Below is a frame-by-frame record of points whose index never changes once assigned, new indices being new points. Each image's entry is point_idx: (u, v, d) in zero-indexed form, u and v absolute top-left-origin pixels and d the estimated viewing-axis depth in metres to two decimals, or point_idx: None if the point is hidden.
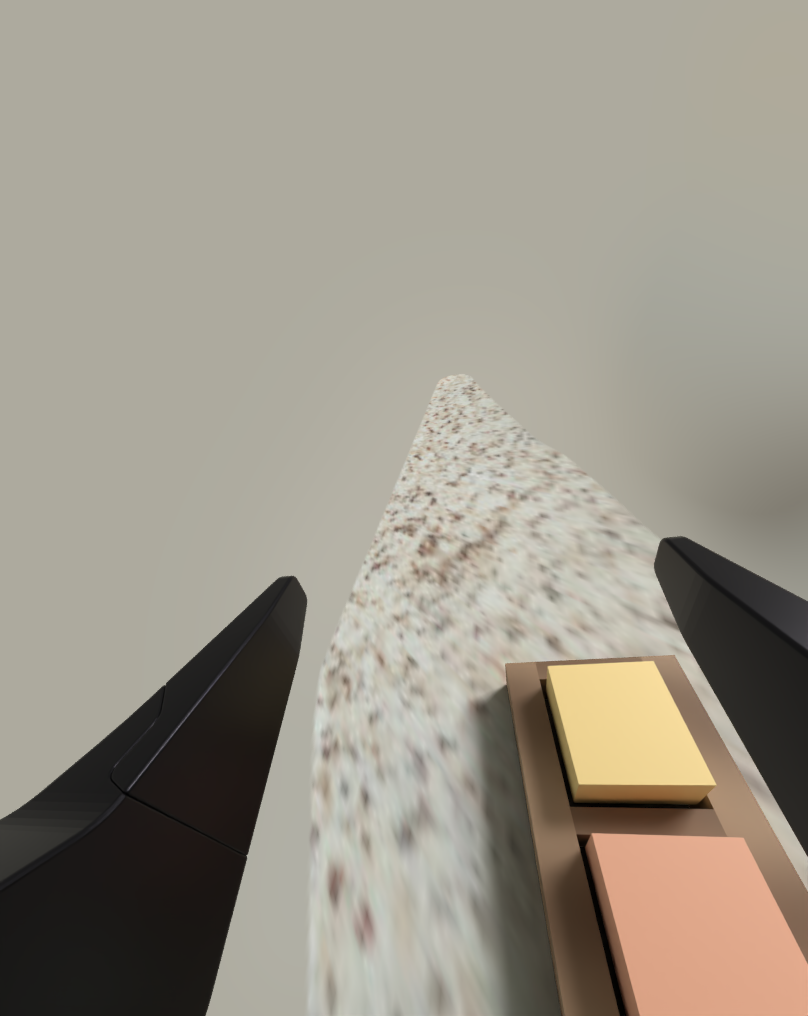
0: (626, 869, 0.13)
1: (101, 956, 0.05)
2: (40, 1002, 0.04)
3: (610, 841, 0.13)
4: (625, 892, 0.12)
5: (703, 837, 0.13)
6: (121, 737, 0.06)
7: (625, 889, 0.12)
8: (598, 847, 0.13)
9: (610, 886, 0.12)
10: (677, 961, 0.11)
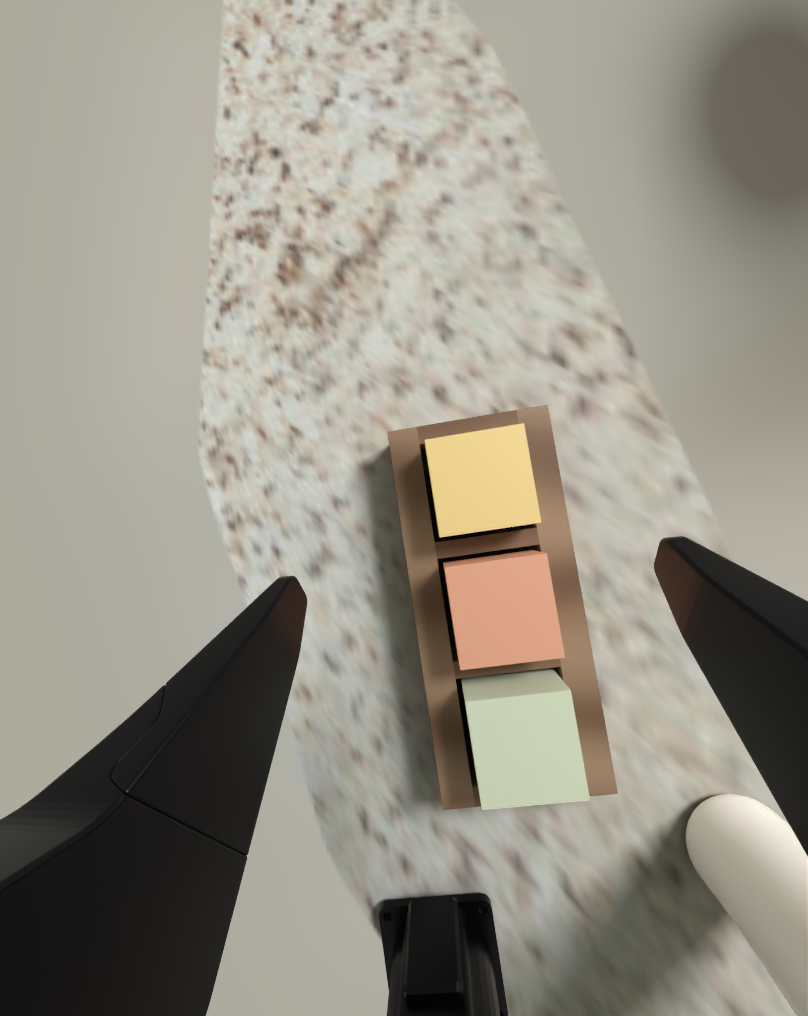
0: (464, 584, 0.18)
1: (101, 956, 0.05)
2: (40, 1002, 0.04)
3: (456, 570, 0.18)
4: (460, 596, 0.18)
5: (520, 556, 0.18)
6: (121, 737, 0.06)
7: (461, 594, 0.18)
8: (447, 575, 0.18)
9: (451, 594, 0.18)
10: (484, 622, 0.17)
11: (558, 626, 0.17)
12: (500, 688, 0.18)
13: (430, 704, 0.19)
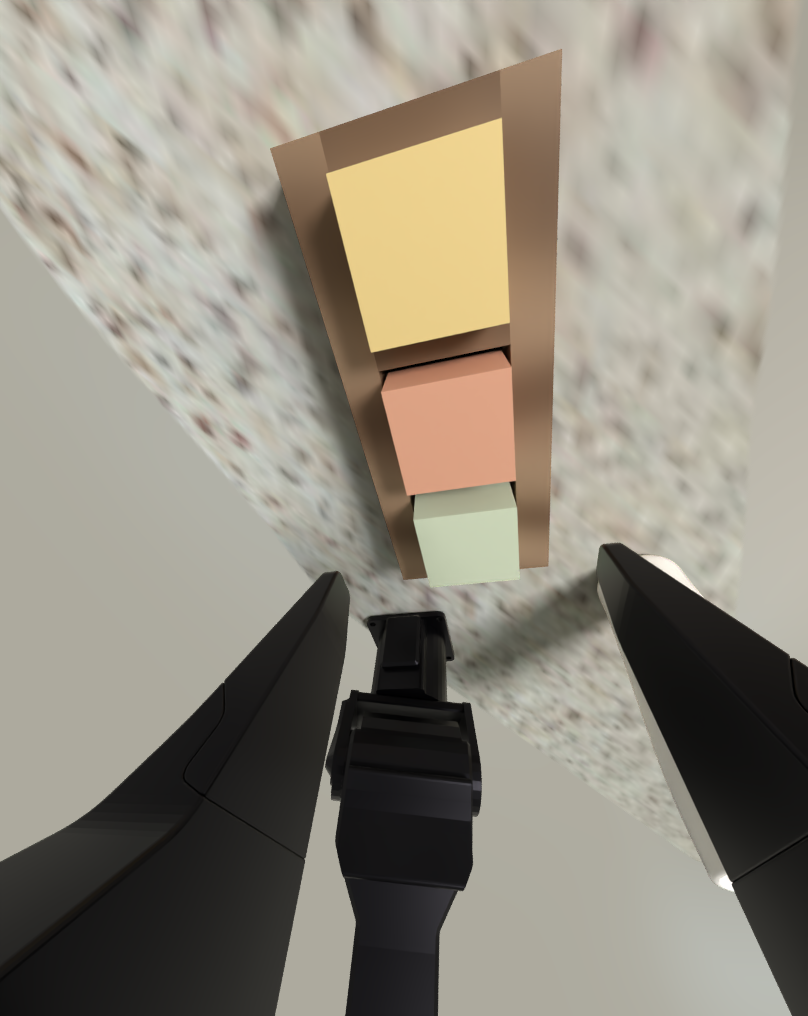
0: (406, 411, 0.14)
1: (184, 966, 0.04)
2: None
3: (396, 394, 0.14)
4: (403, 425, 0.15)
5: (477, 372, 0.14)
6: (187, 736, 0.06)
7: (404, 423, 0.15)
8: (385, 401, 0.14)
9: (393, 423, 0.15)
10: (430, 451, 0.15)
11: (513, 451, 0.15)
12: (449, 504, 0.18)
13: (386, 514, 0.20)
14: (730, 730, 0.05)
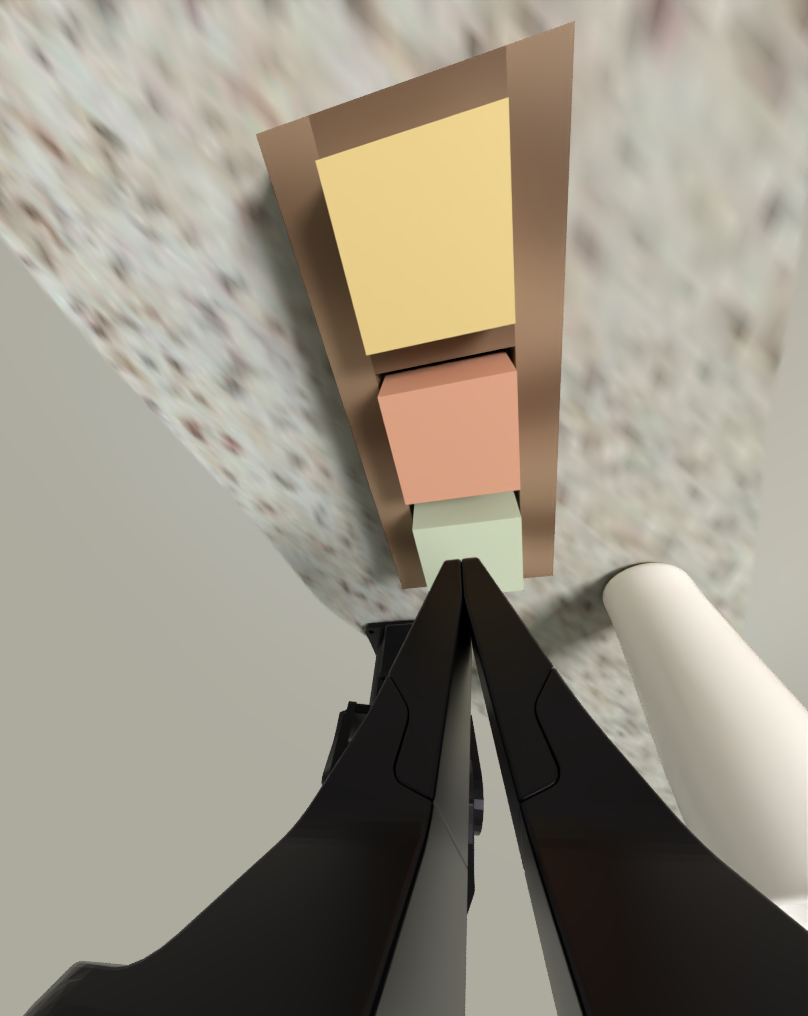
0: (404, 417, 0.14)
1: (433, 997, 0.04)
2: None
3: (393, 400, 0.13)
4: (401, 431, 0.14)
5: (480, 376, 0.13)
6: (378, 734, 0.05)
7: (401, 429, 0.14)
8: (382, 407, 0.13)
9: (390, 430, 0.14)
10: (430, 459, 0.15)
11: (518, 459, 0.14)
12: (450, 512, 0.17)
13: (384, 522, 0.19)
14: (497, 733, 0.06)
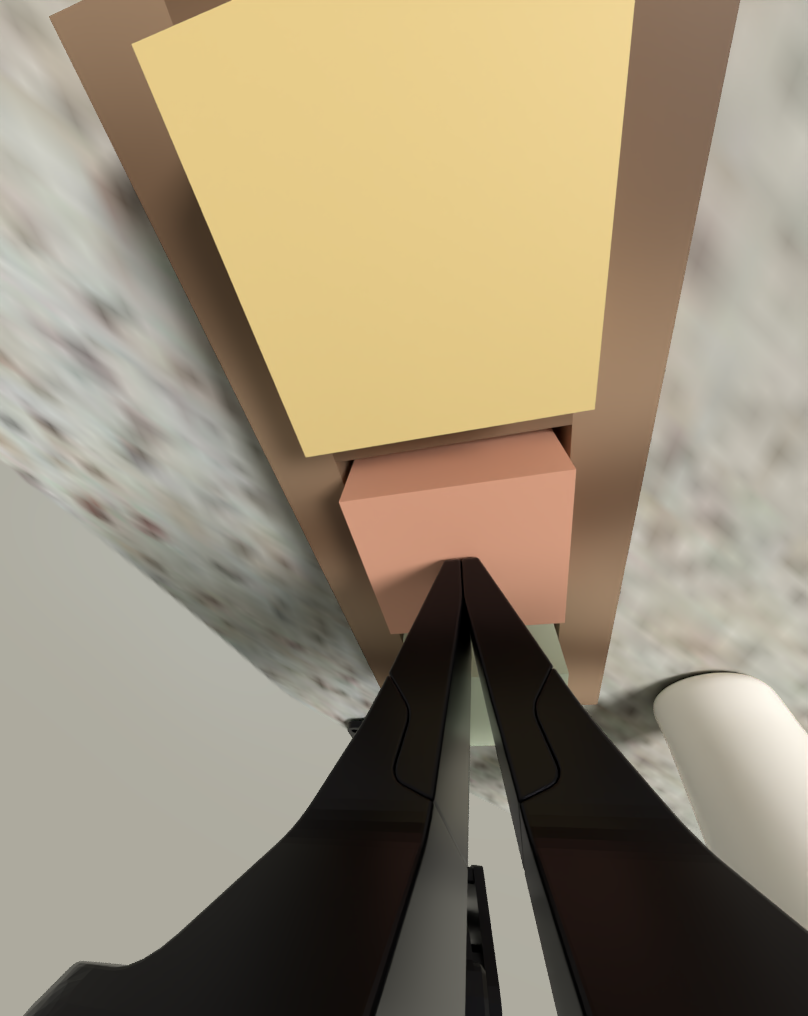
0: (385, 529, 0.08)
1: (433, 997, 0.04)
2: None
3: (366, 506, 0.08)
4: (380, 548, 0.09)
5: (511, 475, 0.07)
6: (378, 734, 0.05)
7: (381, 545, 0.09)
8: (348, 515, 0.08)
9: (363, 544, 0.09)
10: (427, 583, 0.09)
11: (565, 588, 0.09)
12: None
13: (362, 642, 0.14)
14: (497, 733, 0.06)
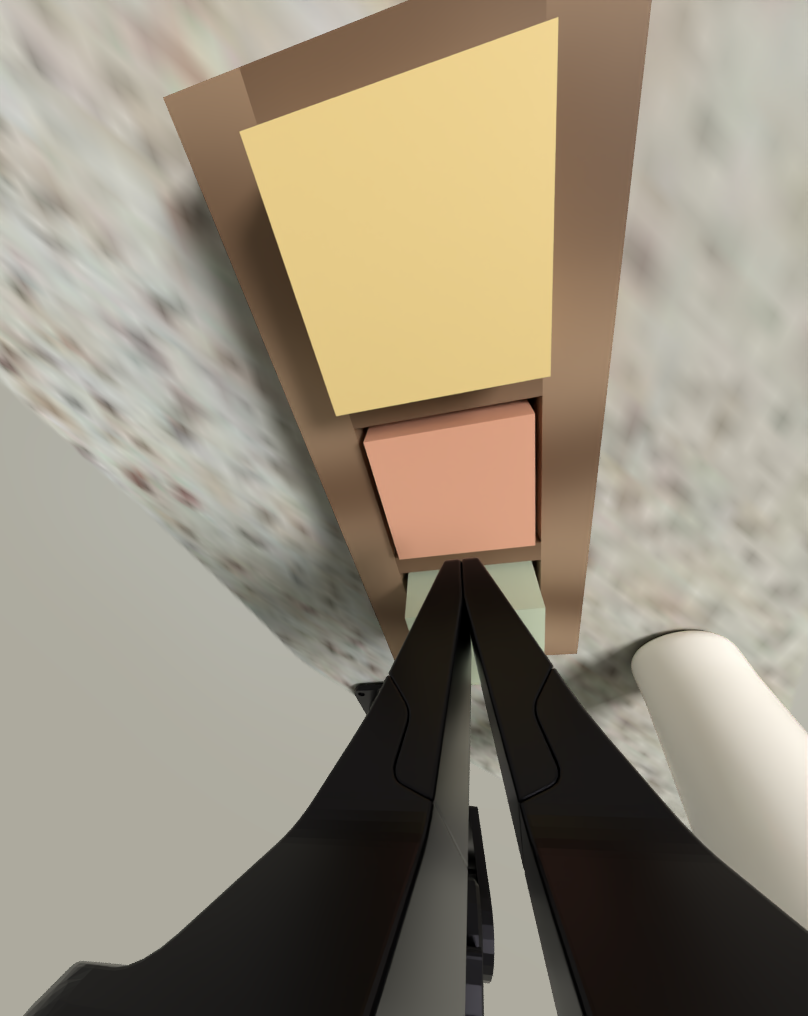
0: (397, 465, 0.11)
1: (433, 996, 0.04)
2: None
3: (383, 445, 0.11)
4: (393, 481, 0.12)
5: (489, 420, 0.10)
6: (378, 733, 0.05)
7: (394, 479, 0.12)
8: (369, 453, 0.11)
9: (380, 478, 0.12)
10: (428, 511, 0.12)
11: (533, 513, 0.12)
12: None
13: (371, 595, 0.16)
14: (497, 733, 0.06)
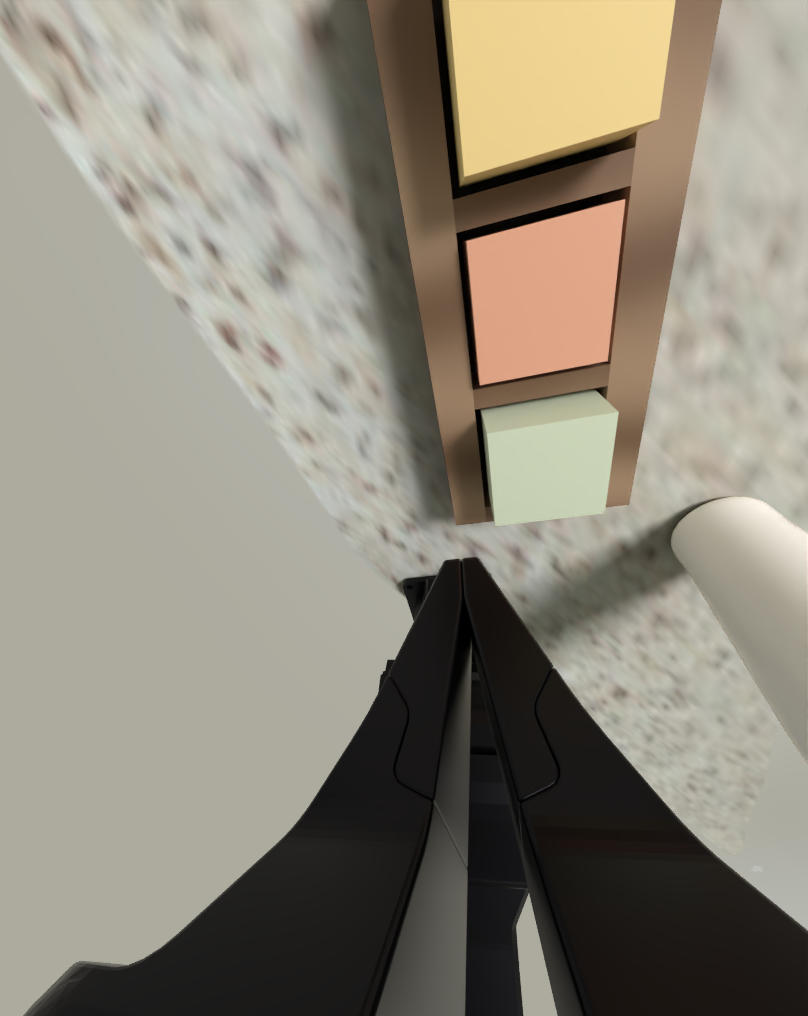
0: (493, 267, 0.13)
1: (433, 997, 0.04)
2: None
3: (484, 244, 0.12)
4: (487, 287, 0.13)
5: (583, 210, 0.12)
6: (378, 734, 0.05)
7: (488, 284, 0.13)
8: (470, 254, 0.12)
9: (475, 285, 0.13)
10: (514, 323, 0.14)
11: (610, 320, 0.13)
12: (528, 416, 0.15)
13: (444, 438, 0.17)
14: (497, 733, 0.06)
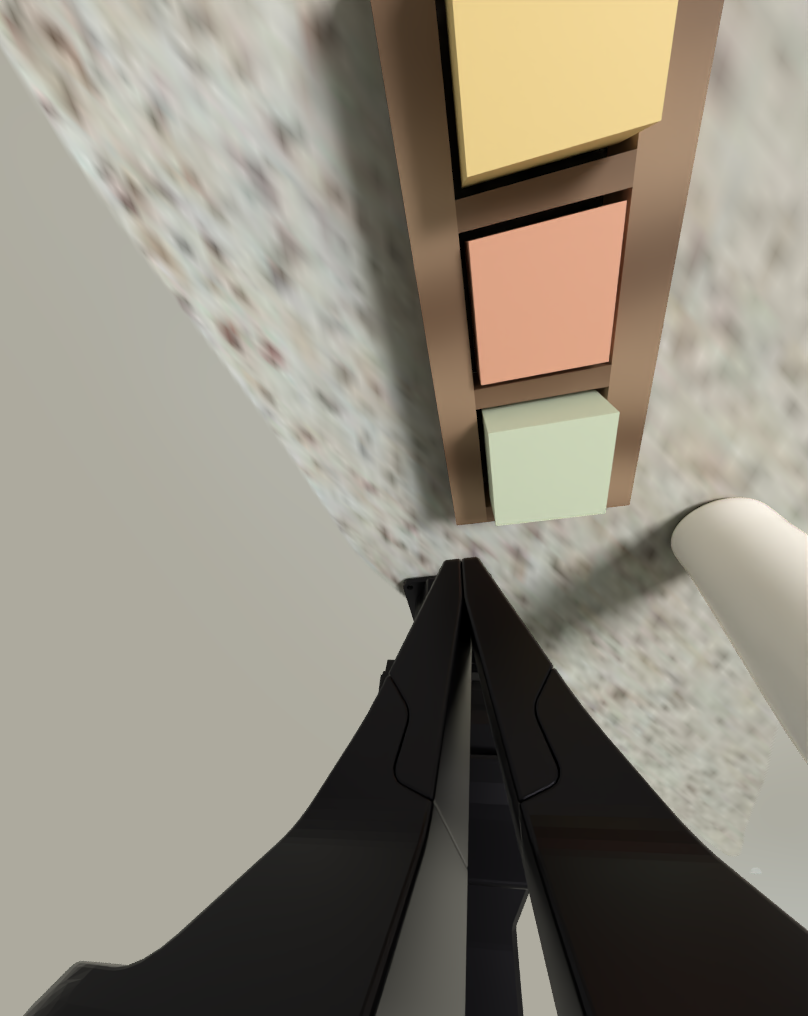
0: (495, 267, 0.13)
1: (433, 997, 0.04)
2: None
3: (486, 244, 0.12)
4: (489, 287, 0.13)
5: (584, 211, 0.12)
6: (378, 734, 0.05)
7: (490, 284, 0.13)
8: (472, 254, 0.12)
9: (477, 286, 0.13)
10: (516, 323, 0.14)
11: (611, 321, 0.13)
12: (530, 416, 0.15)
13: (445, 438, 0.17)
14: (497, 733, 0.06)
